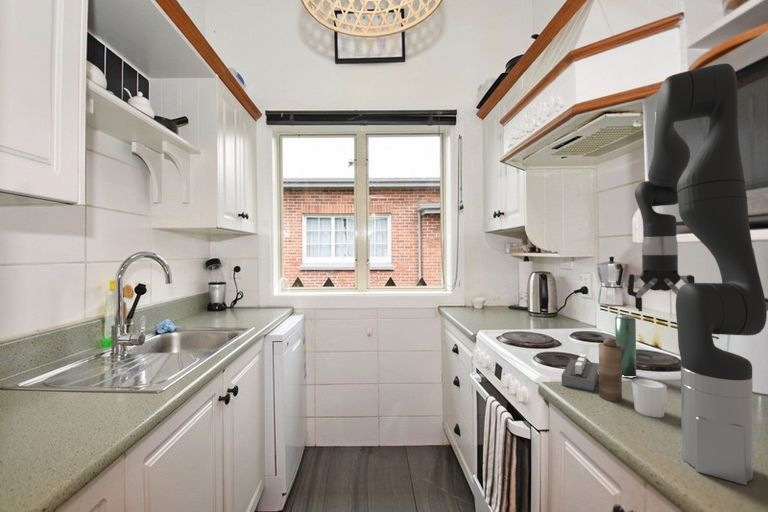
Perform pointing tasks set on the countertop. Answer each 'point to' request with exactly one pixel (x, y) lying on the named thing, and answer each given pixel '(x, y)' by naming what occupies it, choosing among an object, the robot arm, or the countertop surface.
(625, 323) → the green tin
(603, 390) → the pepper mill
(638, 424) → the countertop surface
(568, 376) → the switch box
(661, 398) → the white cup
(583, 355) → the far paddle
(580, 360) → the middle paddle
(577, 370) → the near paddle
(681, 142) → the robot arm
